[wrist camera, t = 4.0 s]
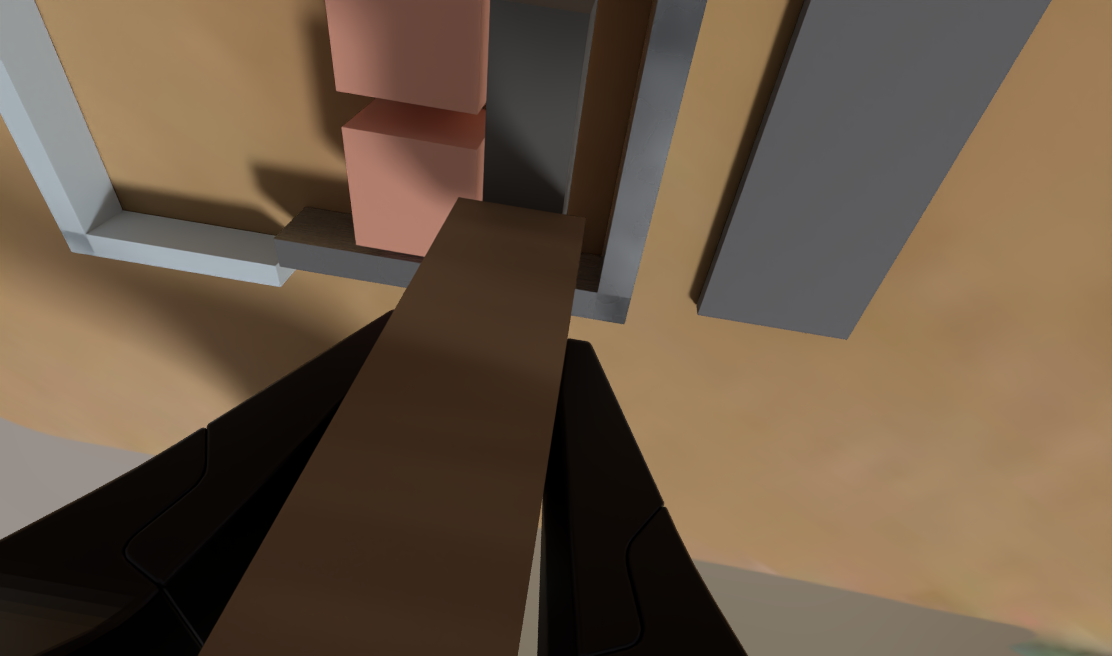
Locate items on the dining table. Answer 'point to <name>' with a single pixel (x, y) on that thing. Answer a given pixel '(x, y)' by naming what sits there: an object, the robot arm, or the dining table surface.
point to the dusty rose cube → (412, 50)
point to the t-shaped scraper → (445, 402)
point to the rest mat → (856, 152)
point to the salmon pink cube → (410, 171)
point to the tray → (102, 171)
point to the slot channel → (611, 276)
